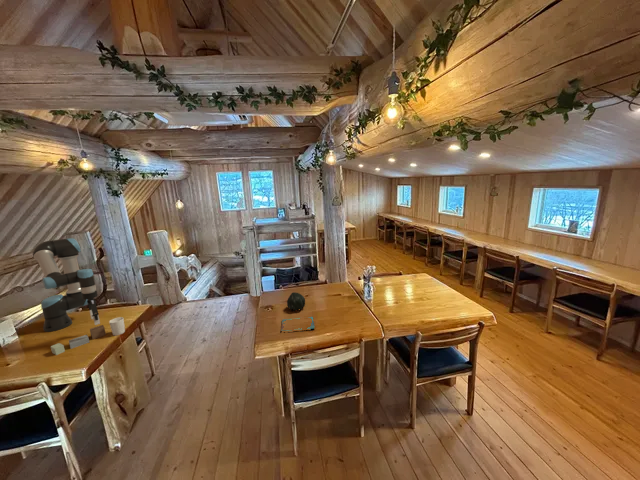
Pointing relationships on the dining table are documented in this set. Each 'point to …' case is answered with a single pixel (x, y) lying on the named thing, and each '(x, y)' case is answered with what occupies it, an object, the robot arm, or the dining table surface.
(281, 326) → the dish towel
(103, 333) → the walnut block
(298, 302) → the squash
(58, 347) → the sage block
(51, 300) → the robot arm
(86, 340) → the grey slab
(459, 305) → the dining table surface
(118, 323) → the white cup
